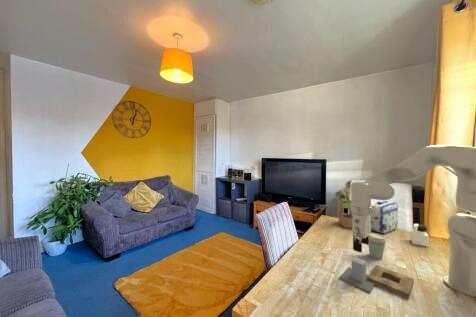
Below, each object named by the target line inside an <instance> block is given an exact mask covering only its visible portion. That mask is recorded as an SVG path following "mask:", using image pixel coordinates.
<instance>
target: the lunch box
mask: <svg viewBox="0 0 476 317" xmlns="http://www.w3.org/2000/svg"><path fill="white" fill-rule="evenodd" d="M398 206H399V204H398V203H397V202H396V201H395V202H394V201H393V202H392V201H389V200H381V201H377V202H376V203H373V204H372V203H371V215H370V224H371V231H373V232H376V233H379V234H381V235H385V234H388V233H390V232H392V231H395V230H396V229H398V225H399V216H398V214H399V207H398Z"/></svg>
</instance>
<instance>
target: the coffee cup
mask: <svg viewBox="0 0 476 317" xmlns="http://www.w3.org/2000/svg"><path fill="white" fill-rule="evenodd" d="M368 236H369V244H368V252H369V253H368V255H369V257H370V258H372V259H374V260H376V261H377V260H378V261H381V260H383V256H384V251H385V245H386V242H387V238H386V237H385V236H384V234H381V233H378V232H376V233H375V232H371V233H370V234H369V235H368Z"/></svg>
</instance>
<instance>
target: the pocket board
mask: <svg viewBox="0 0 476 317" xmlns="http://www.w3.org/2000/svg"><path fill="white" fill-rule="evenodd" d="M367 275H368V277H367V280H370V281H372V282H374V283H375V286H378V287H380V288H382V289H384V290H386V291H389V292H391V293H394V294H396V295H398V296H400V297H402V298H406V299H408V300H409V299H410V297H411V296H410V295H411V292H412V289H413V286H414V280H415V279H414V278H413V277H410V276H407V275H405V274H401V273H399V272H396V271H394V270H391V269H388V268H386V267H383V266H380V265H378V264H375V266H374V267H373V268H372V270H371V271H370V273H369V274H367ZM383 277H386V278H387V279H391V280H394V281H396V282H398V284H397V283H395V282H393V281H390V280H387V279H385V278H383Z"/></svg>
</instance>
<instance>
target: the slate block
mask: <svg viewBox="0 0 476 317" xmlns="http://www.w3.org/2000/svg"><path fill="white" fill-rule="evenodd" d="M351 268H352V273H351V278H353V279H355V280H357V281H360V282H362V283H363V282H364V280H365V279H366V274H367V260H364V259H362V258H359V257H356V256H355V257H354V258H353V259H352V260H351Z"/></svg>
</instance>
